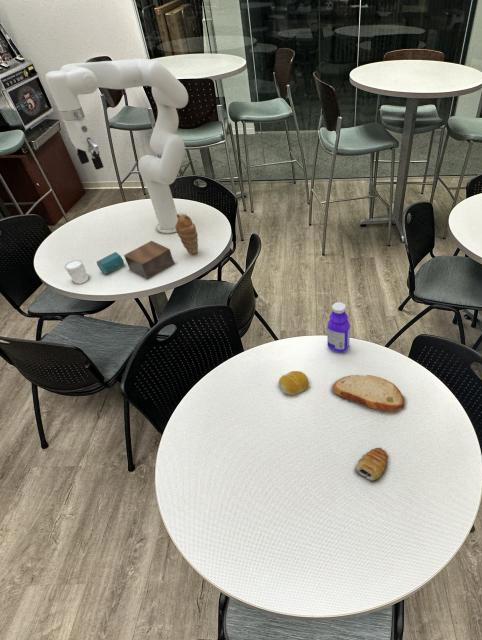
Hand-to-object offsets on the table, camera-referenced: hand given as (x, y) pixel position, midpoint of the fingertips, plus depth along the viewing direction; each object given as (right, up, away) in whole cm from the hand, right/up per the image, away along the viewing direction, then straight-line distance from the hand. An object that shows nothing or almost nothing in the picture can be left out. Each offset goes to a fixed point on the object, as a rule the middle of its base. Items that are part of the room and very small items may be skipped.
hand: (92, 165), depth 162 cm
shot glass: (-11, -41, +12) cm, 44 cm away
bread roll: (+79, -85, -31) cm, 120 cm away
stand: (+16, -34, +17) cm, 41 cm away
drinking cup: (0, -35, +17) cm, 39 cm away
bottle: (+94, -72, -20) cm, 119 cm away
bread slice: (+102, -88, -34) cm, 139 cm away
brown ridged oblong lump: (+32, -27, +23) cm, 48 cm away
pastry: (+101, -106, -51) cm, 155 cm away
